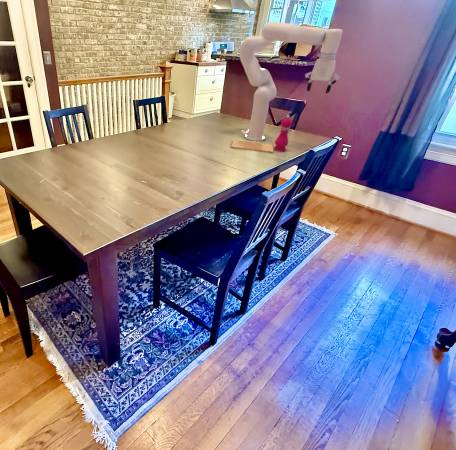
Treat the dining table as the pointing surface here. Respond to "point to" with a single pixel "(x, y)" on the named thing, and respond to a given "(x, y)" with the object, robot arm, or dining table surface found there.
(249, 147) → the cork mat
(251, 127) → the robot arm
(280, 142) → the pepper mill
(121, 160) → the dining table surface
